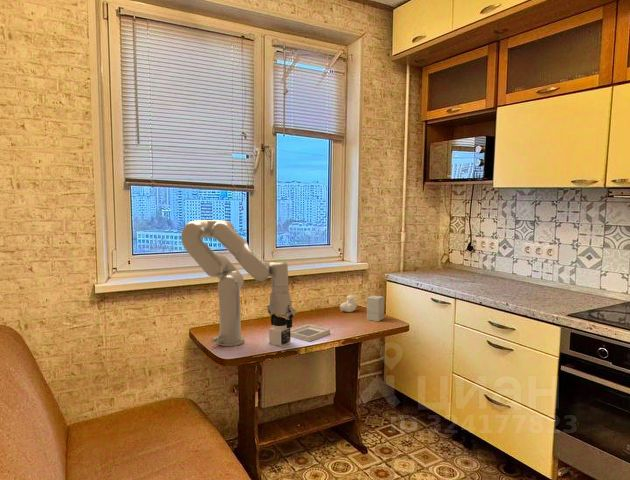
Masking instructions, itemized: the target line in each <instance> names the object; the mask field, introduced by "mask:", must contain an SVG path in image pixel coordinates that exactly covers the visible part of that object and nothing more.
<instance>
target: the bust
mask: <svg viewBox="0 0 630 480" xmlns="http://www.w3.org/2000/svg"><path fill="white" fill-rule="evenodd" d="M345 298H346V302H345V301H344V302H342V303H340V305H339V310H340V312H346V313H352V312H354V311H356V308H357V306H358V302H357V301H355V295H354V294H353V295H352V294H348V296H345Z"/></svg>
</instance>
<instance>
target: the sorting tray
mask: <svg viewBox="0 0 630 480" xmlns="http://www.w3.org/2000/svg"><path fill="white" fill-rule="evenodd" d="M330 334H331V329H329V328H327V327H321V326H318V325H314V324H309V323H308V324H304V325H302V326H298V327H295V328H293V329H292V328H291V329H290V338H295V339H298V340H301V341H305V342H311V341H315V340H317V339H320V338H322V337H325V336H327V335H330Z"/></svg>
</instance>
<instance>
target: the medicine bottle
mask: <svg viewBox="0 0 630 480" xmlns="http://www.w3.org/2000/svg"><path fill="white" fill-rule="evenodd" d="M286 320H287V318H286V316H282V315H277V317H275V318H274V319H273V325H272V326H273V327H270V328H268V337H269V338H268V341H269V342H268V344H270V345H275V346H278V347H283V346H286V345H287V344H290V343H291V337H290V330H291V328H287V327H286Z"/></svg>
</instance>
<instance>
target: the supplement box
mask: <svg viewBox="0 0 630 480" xmlns="http://www.w3.org/2000/svg"><path fill="white" fill-rule="evenodd" d="M384 312H385V296H381V295H380V296H379V295H374V294H371V295H370V296H368V297H366V320H367V321H371V320H373V322H378V321H379V322H381V321H382V319H383V320H384V319H385V318H384V317H385V313H384ZM380 320H381V321H380Z"/></svg>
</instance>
